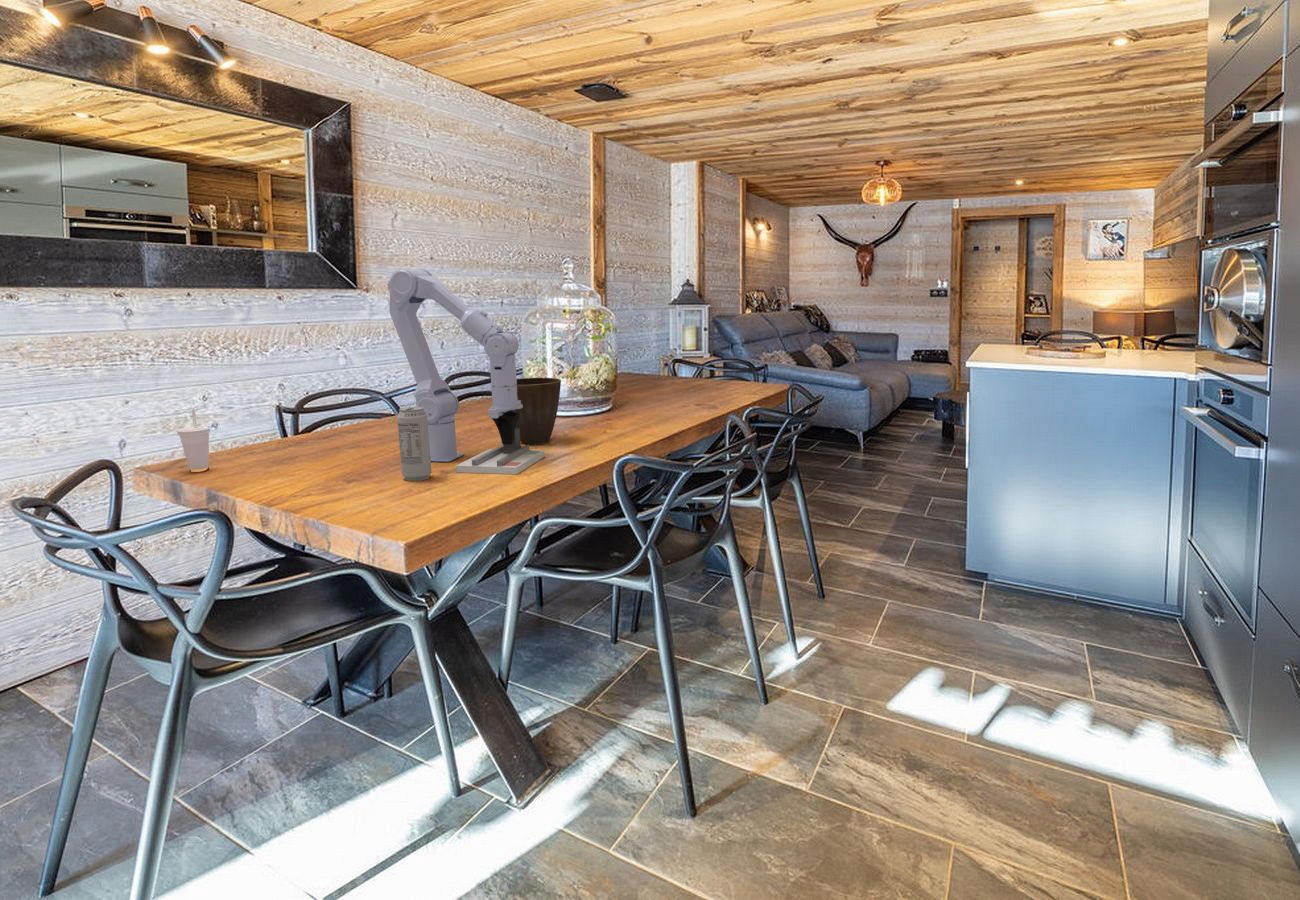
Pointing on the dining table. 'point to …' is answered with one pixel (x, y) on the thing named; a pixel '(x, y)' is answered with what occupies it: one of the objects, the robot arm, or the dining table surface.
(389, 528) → the dining table surface
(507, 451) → the lever
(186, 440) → the smoothie
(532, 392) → the plant pot
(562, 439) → the dining table surface
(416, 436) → the energy drink can
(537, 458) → the slider rail board
